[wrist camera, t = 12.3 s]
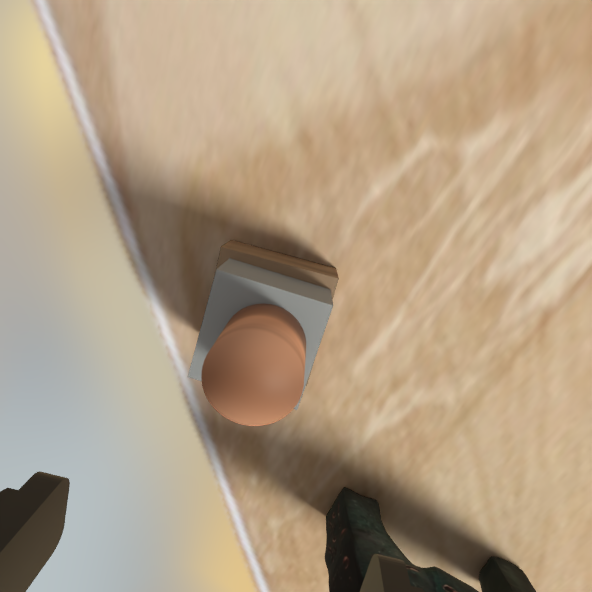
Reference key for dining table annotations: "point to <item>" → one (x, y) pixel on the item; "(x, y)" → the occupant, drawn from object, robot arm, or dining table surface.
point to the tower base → (280, 265)
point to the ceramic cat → (395, 553)
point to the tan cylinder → (256, 366)
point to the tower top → (257, 290)
